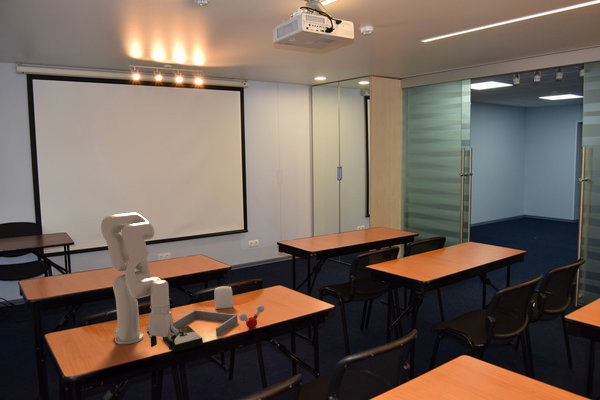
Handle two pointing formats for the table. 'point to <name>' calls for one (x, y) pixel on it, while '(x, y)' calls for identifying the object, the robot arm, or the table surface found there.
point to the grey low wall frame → (228, 318)
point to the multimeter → (185, 339)
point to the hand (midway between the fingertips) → (162, 347)
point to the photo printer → (223, 297)
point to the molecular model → (251, 321)
